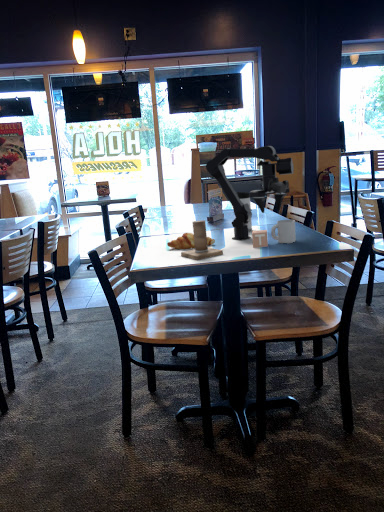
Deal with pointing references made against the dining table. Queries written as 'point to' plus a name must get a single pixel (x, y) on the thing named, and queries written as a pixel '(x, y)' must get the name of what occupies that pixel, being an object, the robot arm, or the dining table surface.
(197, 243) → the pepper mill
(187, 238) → the croissant
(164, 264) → the dining table surface
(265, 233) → the marked block
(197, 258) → the walnut board
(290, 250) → the dining table surface
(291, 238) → the cup
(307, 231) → the dining table surface
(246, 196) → the travel mug
